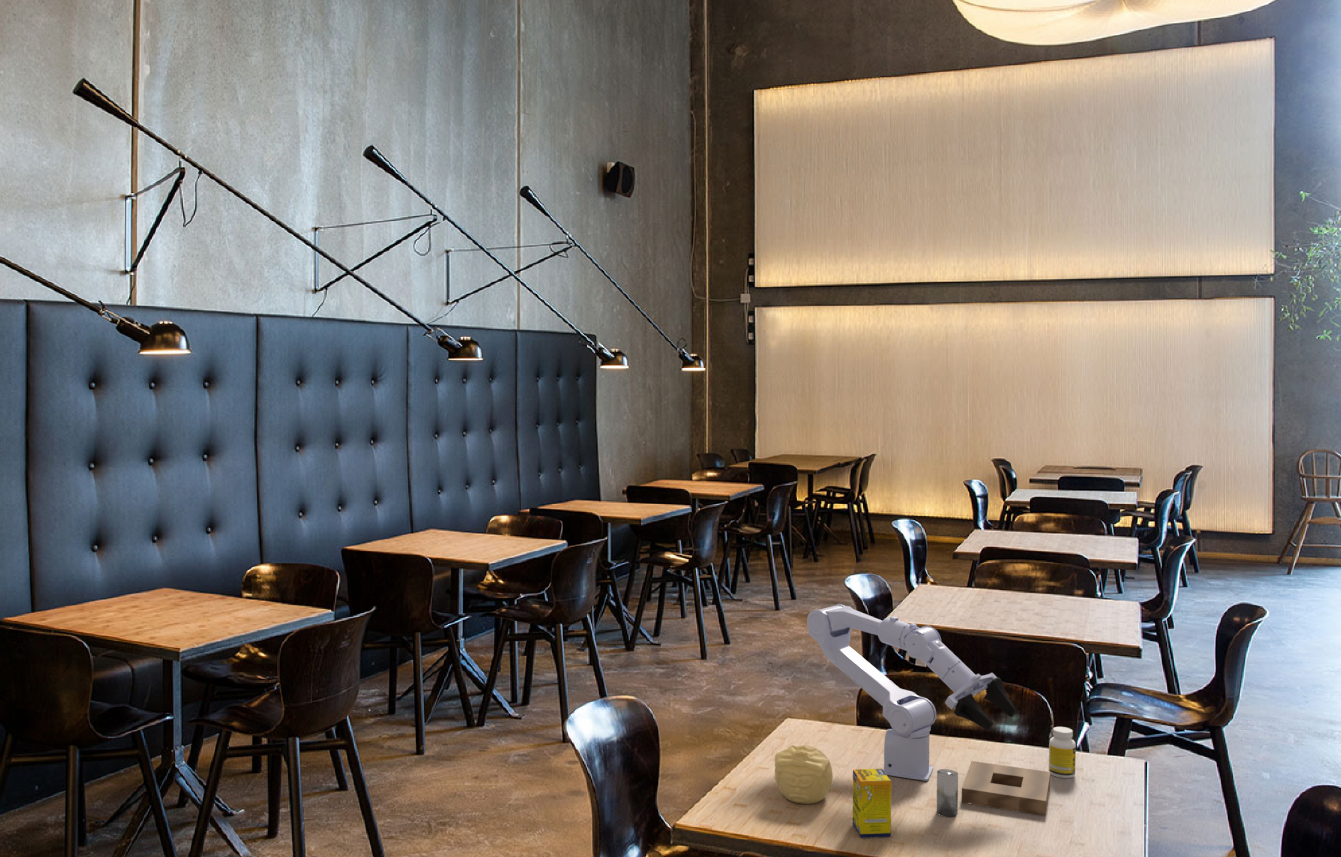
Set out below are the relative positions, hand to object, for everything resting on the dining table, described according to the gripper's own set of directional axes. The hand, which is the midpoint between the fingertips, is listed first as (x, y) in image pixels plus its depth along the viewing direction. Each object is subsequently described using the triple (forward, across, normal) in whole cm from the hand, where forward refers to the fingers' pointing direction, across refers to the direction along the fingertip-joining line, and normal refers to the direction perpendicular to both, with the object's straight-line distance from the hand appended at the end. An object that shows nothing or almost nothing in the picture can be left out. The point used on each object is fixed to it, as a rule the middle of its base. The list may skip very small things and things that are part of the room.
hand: (1002, 720), depth 205 cm
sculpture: (-15, -33, +24) cm, 43 cm away
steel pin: (+5, -16, +14) cm, 21 cm away
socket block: (+8, +1, +16) cm, 17 cm away
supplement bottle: (+10, +20, +18) cm, 29 cm away
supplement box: (+1, -33, +13) cm, 36 cm away
